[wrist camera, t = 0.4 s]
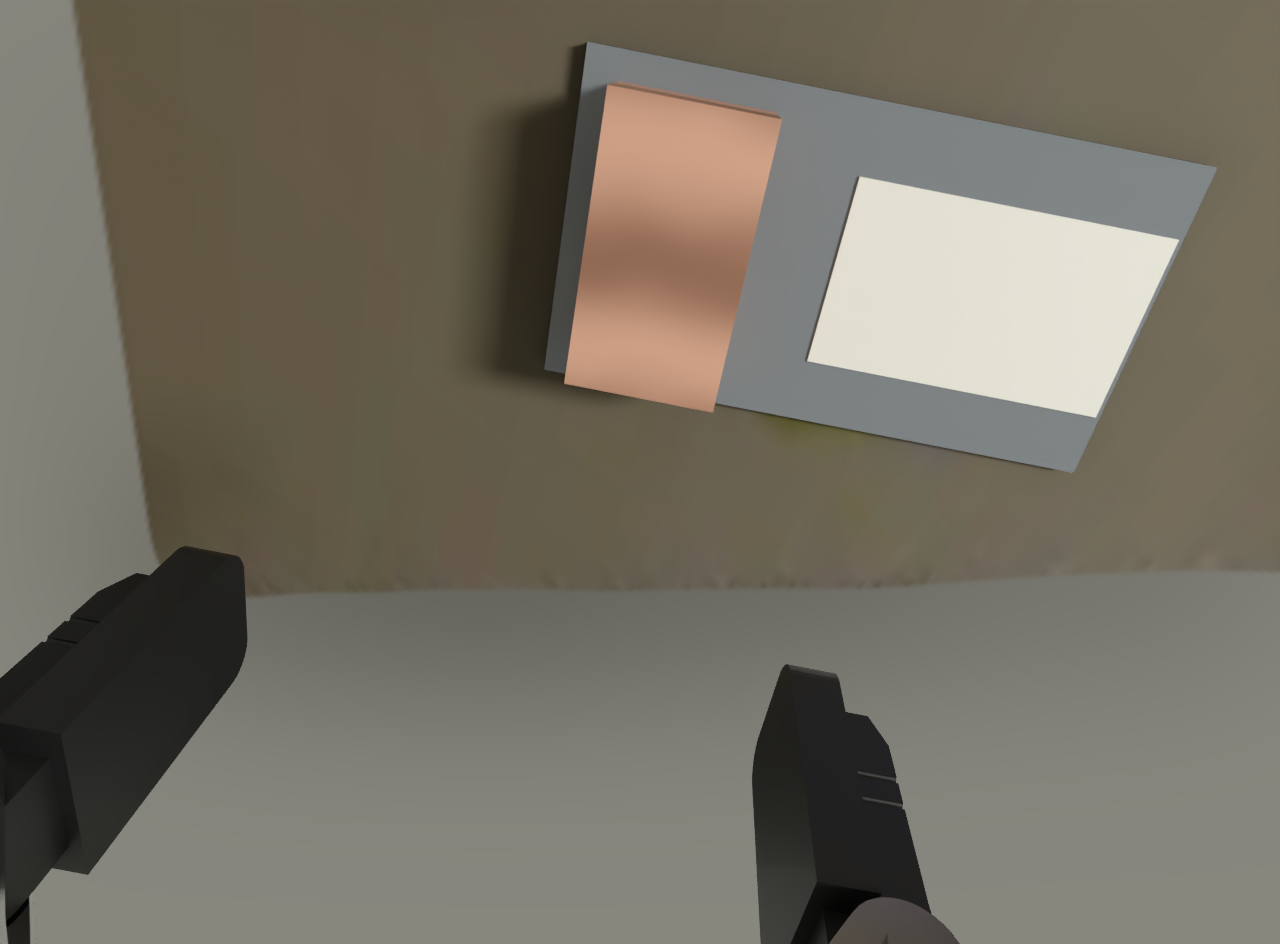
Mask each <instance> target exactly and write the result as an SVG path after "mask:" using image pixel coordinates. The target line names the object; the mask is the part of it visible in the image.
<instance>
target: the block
mask: <svg viewBox="0 0 1280 944" xmlns="http://www.w3.org/2000/svg"><path fill="white" fill-rule="evenodd" d="M781 123H782V119H781V118H780V117H779V116H778V115H777V114H776V113H775V112H772V111H767V110H762V109H757V108H752V107H747V106H742V105H737V104H732V103H727V102H722V101H717V100H712V99H707V98H702V97H697V96H692V95H687V94H682V93H677V92H672V91H667V90H662V89H657V88H652V87H647V86H641V85H636V84H631V83H626V82H621V81H617V82H614V83H611V84H608V85H607V91H606V98H605V105H604V111H603V118H602V125H601V132H600V139H599V146H598V153H597V160H596V167H595V174H594V181H593V188H592V194H591V201H590V208H589V215H588V222H587V229H586V236H585V243H584V250H583V257H582V264H581V271H580V277H579V284H578V291H577V298H576V305H575V312H574V319H573V326H572V333H571V340H570V347H569V354H568V360H567V367H566V374H565V381H564V384H569V385H574V386H579V387H584V388H589V389H594V390H600V391H605V392H610V393H615V394H620V395H625V396H630V397H635V398H641V399H646V400H651V401H656V402H661V403H666V404H671V405H677V406H682V407H687V408H692V409H697V410H702V411H707V412H712V413H713V410H714V406H715V401H716V397H717V393H718V389H719V385H720V380H721V376H722V372H723V368H724V363H725V359H726V355H727V351H728V347H729V342H730V338H731V334H732V330H733V325H734V321H735V317H736V313H737V309H738V304H739V300H740V296H741V292H742V287H743V283H744V279H745V275H746V271H747V266H748V262H749V258H750V254H751V249H752V245H753V241H754V237H755V233H756V228H757V224H758V220H759V216H760V211H761V207H762V203H763V199H764V195H765V190H766V186H767V182H768V178H769V173H770V169H771V165H772V161H773V157H774V152H775V148H776V144H777V140H778V135H779V131H780V127H781Z"/></svg>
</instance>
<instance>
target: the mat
mask: <svg viewBox="0 0 1280 944" xmlns="http://www.w3.org/2000/svg"><path fill="white" fill-rule="evenodd" d="M617 81H621V82H626V83H631V84H636V85H641V86H647V87H652V88H657V89H662V90H667V91H672V92H677V93H682V94H687V95H692V96H697V97H702V98H707V99H712V100H717V101H722V102H727V103H732V104H737V105H742V106H747V107H752V108H757V109H762V110H767V111H772V112H775V113H776V114H777V115H778V116H779V117H780V118H781V119H782V123H781V127H780V131H779V135H778V140H777V144H776V148H775V152H774V157H773V161H772V165H771V169H770V173H769V178H768V182H767V186H766V190H765V195H764V199H763V203H762V207H761V211H760V216H759V220H758V224H757V228H756V233H755V237H754V241H753V245H752V249H751V254H750V258H749V262H748V266H747V271H746V275H745V279H744V283H743V287H742V292H741V296H740V300H739V304H738V309H737V313H736V317H735V321H734V325H733V330H732V334H731V338H730V342H729V347H728V351H727V355H726V359H725V363H724V368H723V372H722V376H721V380H720V385H719V389H718V393H717V397H716V401H715V403H718V404H723V405H728V406H733V407H738V408H743V409H748V410H753V411H759V412H764V413H769V414H774V415H779V416H784V417H789V418H794V419H800V420H805V421H810V422H815V423H820V424H825V425H830V426H836V427H841V428H846V429H851V430H856V431H861V432H866V433H871V434H877V435H882V436H887V437H892V438H897V439H902V440H907V441H912V442H918V443H923V444H928V445H933V446H938V447H943V448H948V449H954V450H959V451H964V452H969V453H974V454H979V455H984V456H989V457H995V458H1000V459H1005V460H1010V461H1015V462H1020V463H1025V464H1030V465H1036V466H1041V467H1046V468H1051V469H1056V470H1061V471H1066V472H1072V473H1074V471H1075V469H1076V467H1077V465H1078V463H1079V460H1080V458H1081V456H1082V454H1083V452H1084V450H1085V448H1086V446H1087V443H1088V441H1089V439H1090V437H1091V435H1092V433H1093V431H1094V429H1095V427H1096V424H1097V422H1098V420H1099V418H1100V416H1101V414H1102V412H1103V410H1104V407H1105V405H1106V403H1107V401H1108V399H1109V397H1110V395H1111V393H1112V391H1113V388H1114V386H1115V384H1116V382H1117V380H1118V378H1119V376H1120V374H1121V371H1122V369H1123V367H1124V365H1125V363H1126V361H1127V359H1128V357H1129V354H1130V352H1131V350H1132V348H1133V346H1134V344H1135V342H1136V340H1137V338H1138V335H1139V333H1140V331H1141V329H1142V327H1143V325H1144V323H1145V321H1146V318H1147V316H1148V314H1149V312H1150V310H1151V308H1152V306H1153V304H1154V301H1155V299H1156V297H1157V295H1158V293H1159V291H1160V289H1161V287H1162V285H1163V282H1164V280H1165V278H1166V276H1167V274H1168V272H1169V270H1170V268H1171V265H1172V263H1173V261H1174V259H1175V257H1176V255H1177V253H1178V251H1179V248H1180V246H1181V244H1182V242H1183V240H1184V238H1185V236H1186V234H1187V232H1188V229H1189V227H1190V225H1191V223H1192V221H1193V219H1194V217H1195V215H1196V212H1197V210H1198V208H1199V206H1200V204H1201V202H1202V200H1203V198H1204V196H1205V193H1206V191H1207V189H1208V187H1209V185H1210V183H1211V181H1212V179H1213V176H1214V174H1215V172H1216V170H1217V167H1212V166H1208V165H1203V164H1198V163H1193V162H1188V161H1183V160H1178V159H1173V158H1168V157H1163V156H1158V155H1153V154H1148V153H1143V152H1138V151H1133V150H1128V149H1123V148H1118V147H1113V146H1108V145H1103V144H1098V143H1093V142H1088V141H1083V140H1078V139H1073V138H1068V137H1063V136H1058V135H1053V134H1048V133H1043V132H1038V131H1033V130H1028V129H1023V128H1018V127H1013V126H1008V125H1003V124H998V123H993V122H988V121H983V120H978V119H973V118H968V117H963V116H958V115H953V114H948V113H943V112H938V111H933V110H928V109H923V108H918V107H913V106H908V105H903V104H898V103H893V102H888V101H883V100H878V99H873V98H868V97H863V96H858V95H853V94H848V93H843V92H838V91H833V90H828V89H823V88H818V87H813V86H808V85H803V84H798V83H793V82H788V81H783V80H778V79H773V78H768V77H763V76H758V75H753V74H748V73H743V72H738V71H733V70H728V69H723V68H718V67H713V66H708V65H703V64H698V63H693V62H688V61H683V60H678V59H673V58H668V57H663V56H658V55H653V54H648V53H643V52H638V51H633V50H628V49H623V48H618V47H613V46H608V45H603V44H598V43H593V42H587V48H586V55H585V63H584V71H583V78H582V86H581V93H580V101H579V109H578V116H577V124H576V131H575V139H574V147H573V154H572V162H571V169H570V177H569V185H568V192H567V200H566V207H565V215H564V223H563V230H562V238H561V245H560V253H559V261H558V268H557V276H556V283H555V291H554V299H553V306H552V314H551V321H550V329H549V336H548V344H547V352H546V359H545V367H544V370H548V371H553V372H558V373H564V374H566V367H567V360H568V354H569V347H570V340H571V333H572V326H573V319H574V312H575V305H576V298H577V291H578V284H579V277H580V271H581V264H582V257H583V250H584V243H585V236H586V229H587V222H588V215H589V208H590V201H591V194H592V188H593V181H594V174H595V167H596V160H597V153H598V146H599V139H600V132H601V125H602V118H603V111H604V105H605V98H606V91H607V85H608V84H611V83H614V82H617Z"/></svg>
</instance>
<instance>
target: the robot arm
mask: <svg viewBox="0 0 1280 944" xmlns="http://www.w3.org/2000/svg"><path fill="white" fill-rule="evenodd" d="M246 647H247V620H246V599H245V579H244V566H243V562H242V560H241V559H240V557H238V556H235V555H230V554H225V553H220V552H215V551H209V550H204V549H199V548H194V547H189V546H184V547H181V548H179V549H178V550H176V551H175V552H174V553H173V554H172V555H171V556H170V557H169V558H168V559H167V560H166V561H165V562H163V563H162V564H161V565H160V566H159V567H158V568H157V569H156V570H155V571H154V572H153V573H152V574H151V575H150V576H149V575H144V574H139V573H136V574H134V575H132V576H129V577H127V578H125V579H123V580H121V581H119V582H117V583H115V584H113V585H111V586H109V587H106V588H104V589H102V590H100V591H99V592H97V593H96V594H95V595H94V596H93V597H91V598H90V599H89V600H88V601H87V602H86V603H85V604H84V605H82V606H81V607H80V608H79V609H78V610H77V611H76V612H75V613H73V614H72V615H71V618H70V620H69V621H64V622H63V623H62V624H61V625H60V626H59V627H58V628H56V629H55V630H54V631H53V632H52V633H51V634H50V635H49V636H48V639H47V641H46V642H41V643H40V644H39V645H37V646H36V647H35V648H34V649H33V650H32V651H31V652H30V653H28V654H27V655H26V656H25V657H24V658H23V659H22V660H21V661H19V662H18V663H17V664H16V665H15V666H14V667H13V668H11V669H10V670H9V671H8V672H7V673H6V674H5V675H4V676H2V677H1V678H0V944H36V913H35V900H34V895H33V891H34V890H35V888H36V887H37V886H38V885H39V883H40V882H41V881H42V880H43V878H44V877H45V876H46V875H47V873H48V872H49V871H50V869H51V868H55V869H61V870H66V871H71V872H77V873H81V874H87V875H88V874H89V873H90V871H91V870H92V868H93V867H94V866H95V865H96V863H97V862H98V861H99V859H100V858H101V857H102V856H103V854H104V853H105V852H106V850H107V849H108V848H109V846H110V845H111V844H112V842H113V841H114V840H115V838H116V837H117V835H118V834H119V833H120V832H121V830H122V829H123V828H124V826H125V825H126V824H127V822H128V821H129V820H130V818H131V817H132V816H133V814H134V813H135V812H136V810H137V809H138V807H139V806H140V805H141V804H142V802H143V801H144V800H145V798H146V797H147V796H148V794H149V793H150V792H151V790H152V789H153V788H154V787H155V785H156V784H157V783H158V781H159V780H160V779H161V777H162V776H163V775H164V773H165V772H166V771H167V769H168V768H169V767H170V765H171V764H172V762H173V761H174V760H175V759H176V757H177V756H178V754H179V753H180V752H181V751H182V749H183V748H184V747H185V745H186V744H187V743H188V741H189V740H190V738H191V737H192V736H193V735H194V733H195V732H196V731H197V729H198V728H199V727H200V725H201V724H202V723H203V721H204V720H205V719H206V717H207V716H208V715H209V713H210V712H211V711H212V710H213V708H214V707H215V705H216V704H217V703H218V702H219V700H220V699H221V698H222V696H223V695H224V694H225V692H226V691H227V690H228V688H229V687H230V686H231V684H232V683H233V681H234V680H235V678H236V677H237V675H238V673H239V671H240V668H241V666H242V663H243V660H244V657H245V652H246ZM752 788H753V789H752V790H753V808H754V827H755V844H756V864H757V882H758V899H759V917H760V918H759V919H760V937H761V944H960V943H959V942H958V941H957V939H956V938H955V937H954V935H953V934H952V933H951V932H950V930H948V928H947V927H946V926H945V925H944V924H943V923H941V922H940V921H939V920H938V919H937V918H936V917H935V916H933V915H932V914H931V911H930V908H929V904H928V900H927V896H926V892H925V888H924V885H923V880H922V876H921V872H920V868H919V864H918V860H917V856H916V852H915V849H914V845H913V841H912V837H911V833H910V829H909V825H908V821H907V817H906V813H905V810H903V809H902V805H903V801H902V797H901V793H900V789H899V785H898V783H896V774H895V769H894V765H893V761H892V757H891V753H890V750H889V746H888V744H887V743H886V742H885V740H884V739H883V737H882V736H881V735H880V733H879V732H878V730H877V729H876V728H875V726H874V725H873V723H872V722H871V720H870V719H869V718H868V717H867V716H863V715H858V714H853V713H848V712H845V707H844V702H843V697H842V693H841V687H840V682H839V679H838V676H837V675H836V674H834V673H829V672H824V671H819V670H814V669H808V668H803V667H798V666H793V665H788V664H786V665H785V666H784V667H783V668H782V670H781V672H780V675H779V678H778V681H777V684H776V687H775V690H774V693H773V696H772V699H771V702H770V705H769V708H768V711H767V714H766V717H765V720H764V723H763V726H762V729H761V731H760V734H759V738H758V741H757V745H756V750H755V755H754V762H753V772H752Z"/></svg>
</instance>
